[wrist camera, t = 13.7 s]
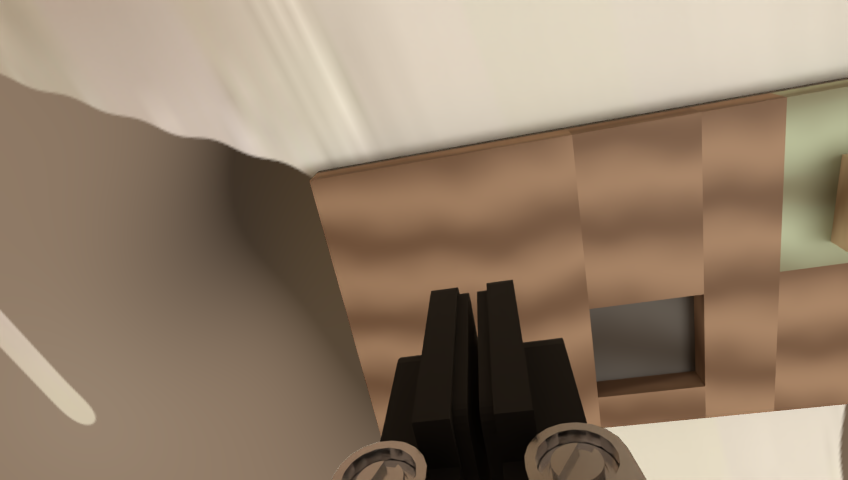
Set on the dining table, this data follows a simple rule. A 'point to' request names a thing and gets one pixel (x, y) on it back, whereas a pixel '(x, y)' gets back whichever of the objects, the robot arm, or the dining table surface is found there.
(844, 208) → the maple block
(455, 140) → the dining table surface
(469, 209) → the trap deck
